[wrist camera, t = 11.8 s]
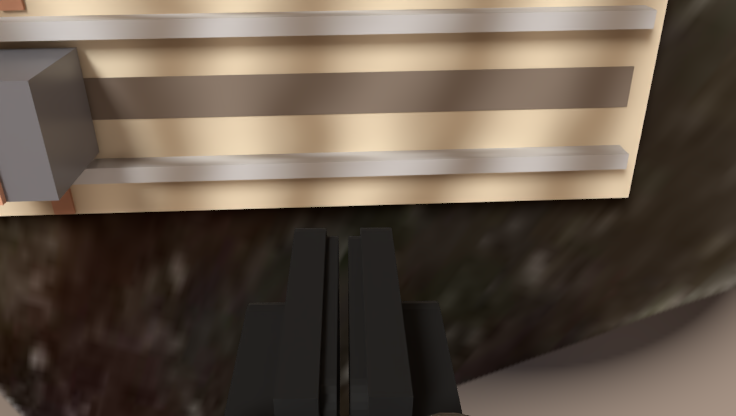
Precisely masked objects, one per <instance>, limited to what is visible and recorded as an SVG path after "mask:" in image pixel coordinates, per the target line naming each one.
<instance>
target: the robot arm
mask: <svg viewBox="0 0 736 416" xmlns="http://www.w3.org/2000/svg"><path fill="white" fill-rule="evenodd" d="M348 274H349V416H468V415H463V414H462V410H461V405H460V401H459V396H458V392H457V386H456V382H455V377H454V372H453V367H452V363H451V358H450V353H449V349H448V344H447V339H446V334H445V330H444V325H443V320H442V316H441V311H440V307H439V303H438V302H437V301H401V297H400V290H399V282H398V274H397V266H396V259H395V251H394V243H393V235H392V229H391V228H360V236H348ZM224 416H340V321H339V238H338V236H327V231H326V228H296V229H295V232H294V240H293V248H292V255H291V263H290V271H289V279H288V287H287V294H286V302H285V303H249V305H248V307H247V310H246V315H245V320H244V324H243V329H242V334H241V339H240V343H239V348H238V353H237V358H236V362H235V367H234V372H233V377H232V381H231V386H230V391H229V396H228V400H227V405H226V410H225V414H224Z"/></svg>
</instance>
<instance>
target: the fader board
mask: <svg viewBox="0 0 736 416" xmlns="http://www.w3.org/2000/svg"><path fill="white" fill-rule="evenodd" d="M667 2H668V0H0V49H27V48H77V52H78V57H79V61H80V66H81V70H82V75H83V80H84V84H85V89H86V93H87V98H88V102H89V107H90V112H91V116H92V121H93V125H94V130H95V134H96V139H97V143H98V148H99V153H98V154H97V156H96V157H95V158H94V159H93V160H92V162H91V163H90V164H89V165H88V166H87V168H86V169H85V170H84V171H83V172H82V174H81V175H80V176H79V177H78V178H77V180H76V181H75V182H74V183H73V184H72V186H71V187H70V188H69V189H68V190H67V192H66V193H65V194H64V195H63V196H62V198H61V199H60V200H57V201H22V202H6V203H5V204H4V205H0V216H24V215H60V214H92V213H125V212H159V211H193V210H226V209H260V208H294V207H328V206H361V205H395V204H429V203H462V202H496V201H530V200H564V199H597V198H628V197H629V192H630V187H631V182H632V177H633V172H634V167H635V162H636V157H637V152H638V147H639V142H640V137H641V132H642V127H643V122H644V117H645V112H646V107H647V102H648V97H649V92H650V87H651V82H652V77H653V72H654V67H655V62H656V57H657V52H658V47H659V42H660V37H661V32H662V27H663V22H664V17H665V12H666V7H667Z"/></svg>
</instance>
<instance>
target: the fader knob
mask: <svg viewBox="0 0 736 416" xmlns="http://www.w3.org/2000/svg"><path fill="white" fill-rule="evenodd" d="M98 153H99V148H98V143H97V139H96V134H95V130H94V125H93V121H92V116H91V112H90V107H89V102H88V98H87V93H86V89H85V84H84V80H83V75H82V70H81V66H80V61H79V57H78V52H77V48H27V49H0V205H4V204H5V203H6V202H22V201H57V200H60V199H61V198H62V196H63V195H64V194H65V193H66V192H67V190H68V189H69V188H70V187H71V186H72V184H73V183H74V182H75V181H76V180H77V178H78V177H79V176H80V175H81V174H82V172H83V171H84V170H85V169H86V168H87V166H88V165H89V164H90V163H91V162H92V160H93V159H94V158H95V157H96V156H97V154H98Z"/></svg>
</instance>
